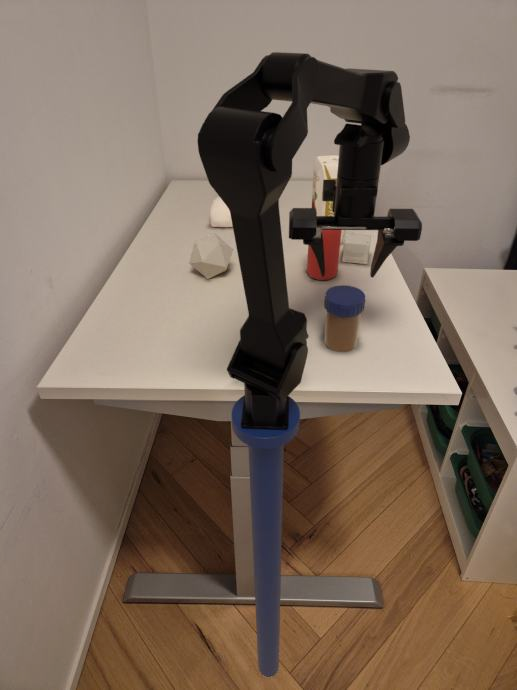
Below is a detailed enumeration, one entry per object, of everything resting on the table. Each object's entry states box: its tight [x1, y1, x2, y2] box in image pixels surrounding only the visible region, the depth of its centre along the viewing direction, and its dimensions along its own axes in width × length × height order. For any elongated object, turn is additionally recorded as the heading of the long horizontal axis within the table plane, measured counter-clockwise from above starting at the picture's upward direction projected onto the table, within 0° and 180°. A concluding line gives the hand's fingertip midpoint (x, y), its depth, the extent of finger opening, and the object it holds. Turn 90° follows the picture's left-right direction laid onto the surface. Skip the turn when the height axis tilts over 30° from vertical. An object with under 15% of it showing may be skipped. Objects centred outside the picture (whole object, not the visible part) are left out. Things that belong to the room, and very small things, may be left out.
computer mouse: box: [209, 196, 233, 228], centre depth 126 cm, size 6×13×6 cm, turn 174°
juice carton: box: [311, 154, 346, 244], centre depth 111 cm, size 8×9×19 cm
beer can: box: [306, 230, 341, 281], centre depth 98 cm, size 7×7×12 cm
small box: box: [341, 232, 372, 265], centre depth 106 cm, size 6×6×5 cm
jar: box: [323, 310, 362, 353], centre depth 78 cm, size 6×6×9 cm
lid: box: [323, 284, 366, 317], centre depth 76 cm, size 6×6×2 cm
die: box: [188, 232, 234, 280], centre depth 100 cm, size 8×9×10 cm
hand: (347, 275), depth 73 cm, fingers open, 7 cm apart
